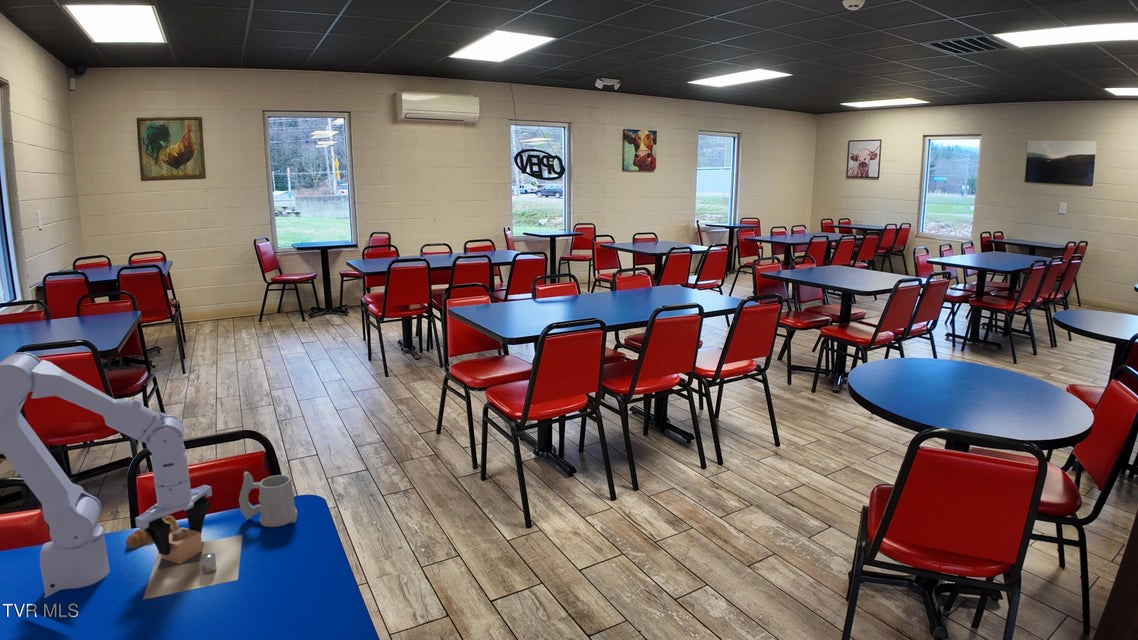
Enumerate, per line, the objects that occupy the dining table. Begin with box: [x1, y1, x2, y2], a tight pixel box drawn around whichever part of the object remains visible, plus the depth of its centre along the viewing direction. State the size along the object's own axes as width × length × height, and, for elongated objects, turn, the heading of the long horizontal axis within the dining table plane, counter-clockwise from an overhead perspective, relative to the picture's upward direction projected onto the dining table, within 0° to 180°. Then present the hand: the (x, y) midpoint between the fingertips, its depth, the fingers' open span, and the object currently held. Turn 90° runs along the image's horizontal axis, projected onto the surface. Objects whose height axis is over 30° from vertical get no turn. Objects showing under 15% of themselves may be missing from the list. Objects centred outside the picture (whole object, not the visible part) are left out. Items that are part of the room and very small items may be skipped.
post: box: [201, 552, 217, 575], centre depth 124 cm, size 2×2×3 cm
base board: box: [142, 534, 243, 600], centre depth 127 cm, size 15×17×1 cm
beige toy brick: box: [161, 527, 203, 564], centre depth 129 cm, size 5×5×5 cm
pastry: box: [125, 515, 181, 550], centre depth 137 cm, size 9×7×4 cm
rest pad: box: [158, 541, 205, 569], centre depth 130 cm, size 7×7×1 cm
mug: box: [238, 471, 298, 528], centre depth 143 cm, size 8×12×12 cm, turn 94°
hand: (180, 544), depth 129 cm, fingers open, 6 cm apart
